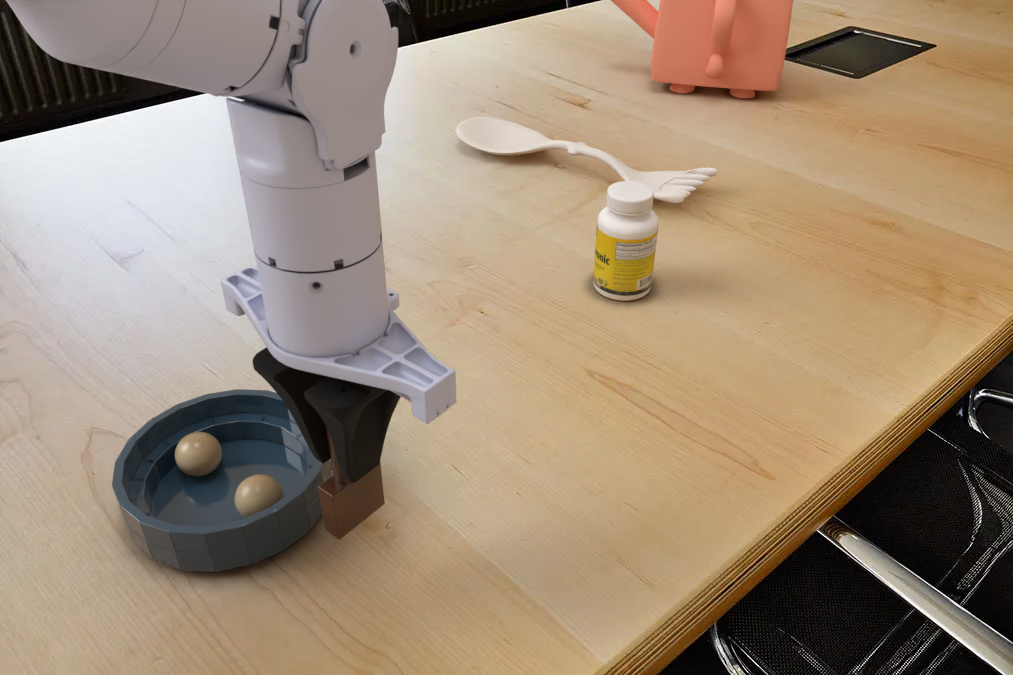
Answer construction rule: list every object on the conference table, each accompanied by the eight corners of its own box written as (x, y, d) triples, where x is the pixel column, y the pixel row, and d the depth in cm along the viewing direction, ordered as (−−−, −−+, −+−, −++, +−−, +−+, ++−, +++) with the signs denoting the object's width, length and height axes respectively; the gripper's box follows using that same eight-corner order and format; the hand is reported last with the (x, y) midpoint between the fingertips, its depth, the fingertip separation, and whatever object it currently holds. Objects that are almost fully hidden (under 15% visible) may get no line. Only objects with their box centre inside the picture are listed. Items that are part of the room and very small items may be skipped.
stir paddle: (342, 543, 47) (324, 420, 42) (321, 528, 48) (300, 406, 43) (388, 506, 50) (376, 385, 45) (367, 492, 51) (352, 372, 45)
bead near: (259, 539, 54) (251, 506, 52) (229, 516, 55) (220, 483, 53) (296, 511, 55) (289, 478, 54) (266, 490, 57) (259, 457, 55)
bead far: (197, 492, 57) (188, 459, 55) (170, 472, 58) (160, 439, 57) (234, 467, 59) (226, 435, 57) (208, 449, 60) (199, 416, 58)
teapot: (593, 98, 119) (602, -39, 109) (612, 50, 137) (622, -72, 127) (778, 114, 115) (806, -27, 104) (773, 62, 133) (796, -63, 122)
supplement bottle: (589, 271, 81) (596, 176, 76) (646, 271, 81) (657, 176, 76) (595, 302, 77) (602, 204, 71) (655, 302, 77) (667, 204, 71)
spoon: (678, 225, 89) (682, 194, 87) (441, 149, 104) (440, 122, 102) (715, 194, 95) (720, 165, 93) (486, 127, 110) (486, 101, 108)
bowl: (210, 615, 50) (196, 570, 47) (88, 509, 56) (70, 465, 54) (374, 487, 58) (369, 443, 56) (251, 408, 65) (242, 365, 62)
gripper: (499, 258, 38) (498, 480, 45) (283, 169, 45) (315, 373, 53) (384, 329, 33) (405, 562, 41) (165, 217, 40) (219, 433, 48)
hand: (348, 461), depth 46 cm, fingers closed on stir paddle, 2 cm apart
